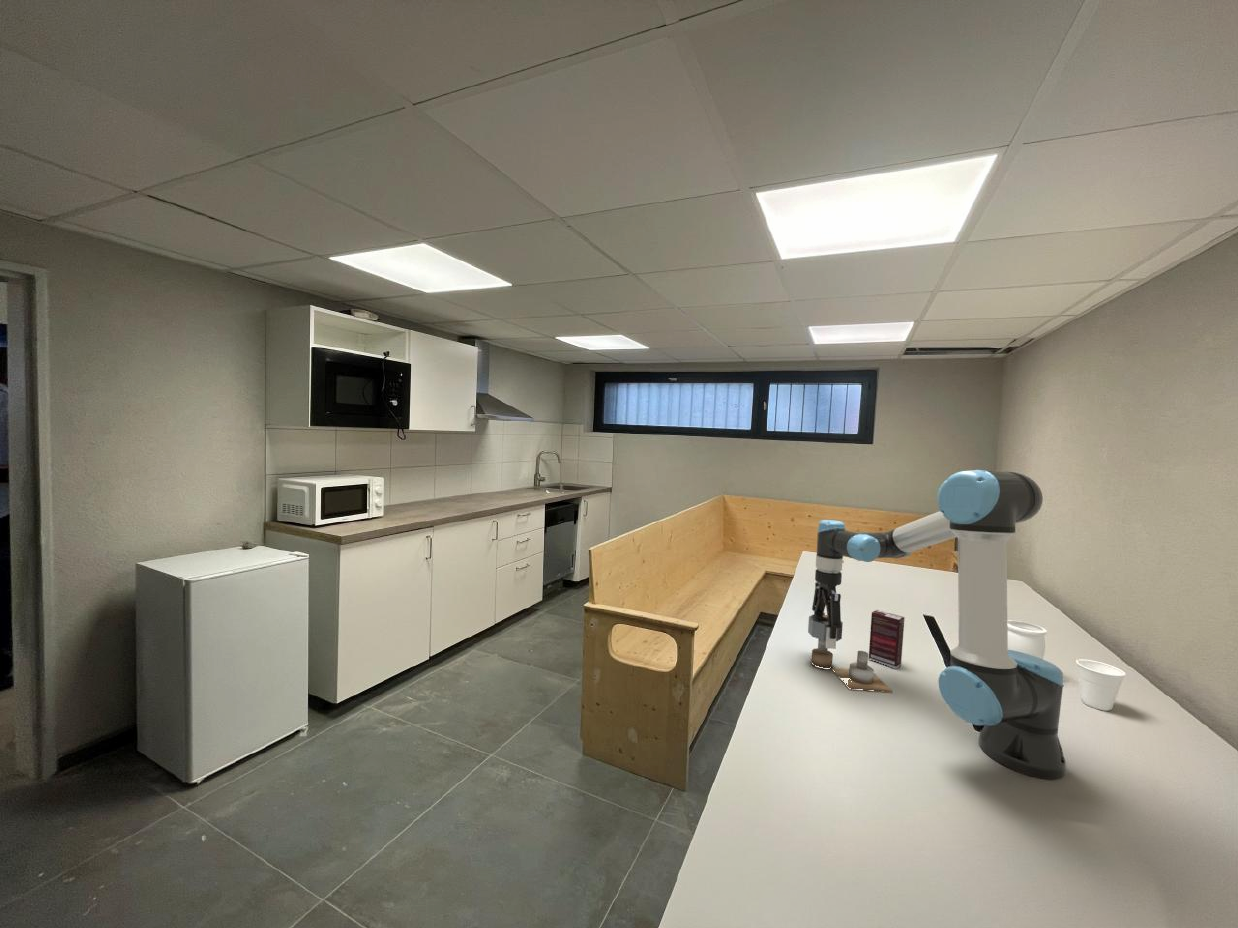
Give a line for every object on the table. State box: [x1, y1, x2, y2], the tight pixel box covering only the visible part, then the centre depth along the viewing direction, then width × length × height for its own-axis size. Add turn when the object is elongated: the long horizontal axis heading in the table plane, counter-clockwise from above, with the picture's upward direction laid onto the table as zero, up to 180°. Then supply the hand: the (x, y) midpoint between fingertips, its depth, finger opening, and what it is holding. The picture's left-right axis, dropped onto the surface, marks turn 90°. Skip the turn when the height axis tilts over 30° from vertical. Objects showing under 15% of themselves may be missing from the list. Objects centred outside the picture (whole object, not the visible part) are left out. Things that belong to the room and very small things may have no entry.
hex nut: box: [807, 614, 843, 642], centre depth 151 cm, size 9×9×5 cm
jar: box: [1007, 619, 1048, 660], centre depth 154 cm, size 11×10×15 cm
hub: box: [831, 650, 893, 693], centre depth 142 cm, size 12×12×8 cm
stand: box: [810, 639, 834, 668], centre depth 151 cm, size 6×6×10 cm
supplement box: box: [868, 609, 905, 670], centre depth 156 cm, size 9×5×16 cm, turn 43°
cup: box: [1075, 658, 1127, 712], centre depth 135 cm, size 10×10×11 cm
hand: (824, 641), depth 151 cm, fingers closed on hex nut, 9 cm apart
